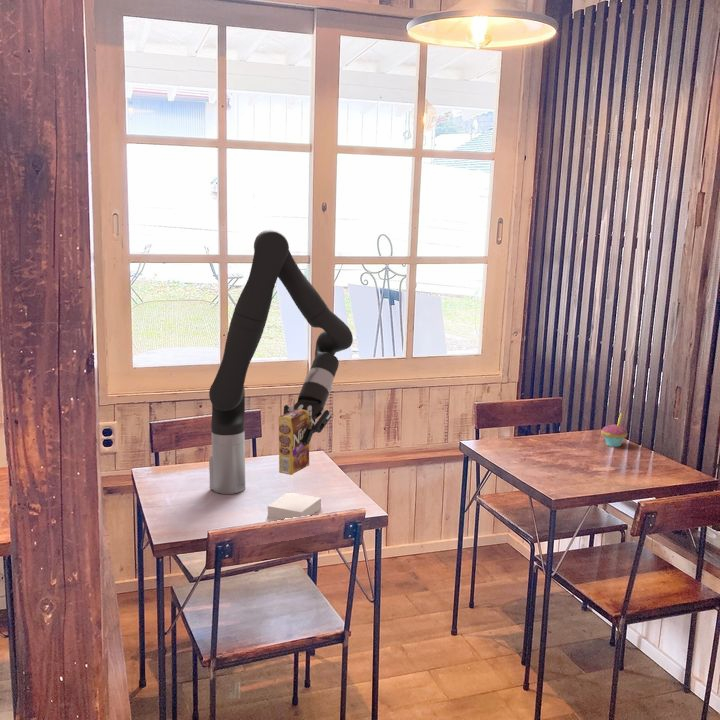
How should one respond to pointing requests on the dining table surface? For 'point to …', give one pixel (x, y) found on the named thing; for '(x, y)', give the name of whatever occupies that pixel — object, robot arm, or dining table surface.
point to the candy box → (293, 441)
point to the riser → (294, 506)
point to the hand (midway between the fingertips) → (295, 442)
